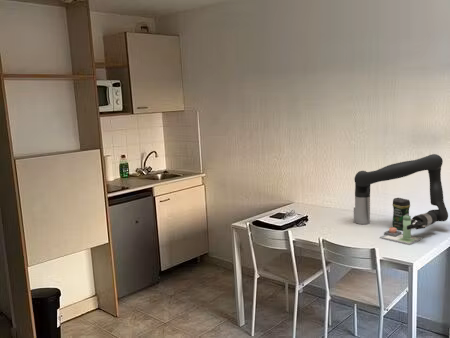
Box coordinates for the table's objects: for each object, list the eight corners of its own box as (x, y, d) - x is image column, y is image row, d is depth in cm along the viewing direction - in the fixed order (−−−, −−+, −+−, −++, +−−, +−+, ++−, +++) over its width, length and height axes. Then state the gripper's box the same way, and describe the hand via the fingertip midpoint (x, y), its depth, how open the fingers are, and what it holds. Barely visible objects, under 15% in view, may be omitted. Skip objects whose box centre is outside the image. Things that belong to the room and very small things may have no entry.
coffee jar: (389, 227, 272) (390, 198, 269) (398, 225, 275) (399, 196, 273) (403, 231, 263) (403, 200, 260) (412, 229, 267) (412, 198, 264)
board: (378, 238, 253) (378, 234, 253) (392, 232, 262) (392, 229, 262) (409, 245, 239) (409, 241, 239) (422, 239, 248) (422, 235, 248)
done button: (387, 232, 256) (387, 228, 256) (391, 230, 259) (391, 226, 258) (394, 233, 253) (394, 229, 253) (397, 232, 256) (398, 228, 255)
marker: (401, 237, 246) (401, 216, 244) (405, 235, 248) (405, 214, 246) (408, 238, 243) (408, 217, 241) (412, 237, 245) (412, 216, 243)
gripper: (410, 212, 258) (392, 217, 248) (434, 216, 246) (415, 222, 236) (410, 224, 259) (392, 230, 249) (433, 229, 247) (415, 236, 238)
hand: (403, 226), depth 243 cm, fingers closed on marker, 4 cm apart
